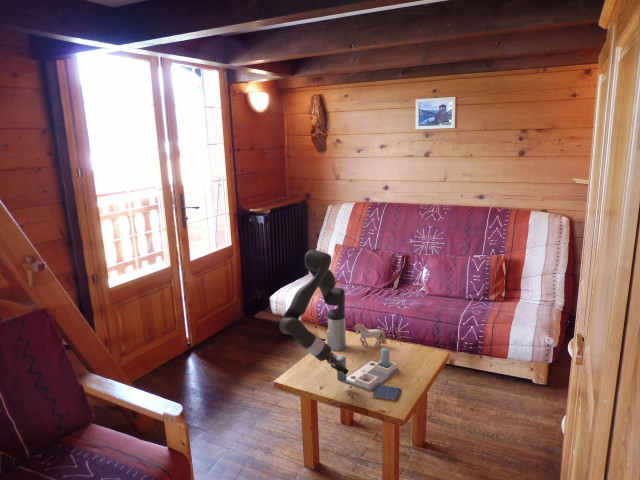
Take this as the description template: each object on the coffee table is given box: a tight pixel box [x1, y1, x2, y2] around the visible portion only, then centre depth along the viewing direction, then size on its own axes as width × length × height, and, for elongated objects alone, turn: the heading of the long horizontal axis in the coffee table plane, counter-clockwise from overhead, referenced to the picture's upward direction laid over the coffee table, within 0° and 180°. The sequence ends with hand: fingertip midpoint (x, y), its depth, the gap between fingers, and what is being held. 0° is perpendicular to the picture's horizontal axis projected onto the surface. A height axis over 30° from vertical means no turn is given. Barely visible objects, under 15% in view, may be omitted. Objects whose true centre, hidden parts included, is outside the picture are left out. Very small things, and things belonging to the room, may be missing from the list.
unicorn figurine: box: [351, 323, 388, 349], centre depth 243 cm, size 7×20×13 cm, turn 99°
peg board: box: [341, 347, 400, 393], centre depth 212 cm, size 16×24×11 cm, turn 140°
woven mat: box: [372, 384, 402, 403], centre depth 197 cm, size 10×11×2 cm
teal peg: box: [336, 355, 347, 382], centre depth 201 cm, size 4×4×10 cm
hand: (345, 370), depth 202 cm, fingers closed on teal peg, 4 cm apart
